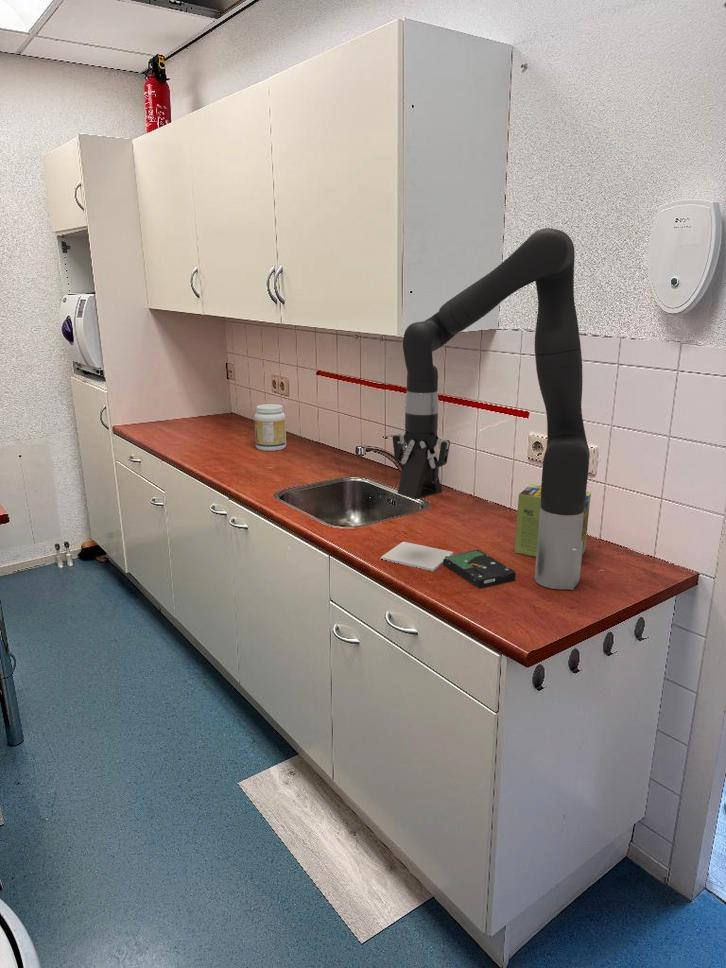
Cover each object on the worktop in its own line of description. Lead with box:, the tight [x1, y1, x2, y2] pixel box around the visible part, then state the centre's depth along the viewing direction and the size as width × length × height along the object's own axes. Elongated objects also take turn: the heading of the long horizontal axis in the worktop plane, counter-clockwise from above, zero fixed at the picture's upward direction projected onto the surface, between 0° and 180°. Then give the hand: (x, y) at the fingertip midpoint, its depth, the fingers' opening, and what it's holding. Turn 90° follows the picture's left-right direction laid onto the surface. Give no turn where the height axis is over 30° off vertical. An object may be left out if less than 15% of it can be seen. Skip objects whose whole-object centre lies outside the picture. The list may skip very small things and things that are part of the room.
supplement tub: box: [254, 403, 287, 452], centre depth 274 cm, size 12×12×17 cm
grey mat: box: [380, 541, 455, 572], centre depth 168 cm, size 14×12×1 cm
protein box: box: [513, 483, 592, 558], centre depth 170 cm, size 10×15×16 cm
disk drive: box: [442, 549, 517, 589], centre depth 160 cm, size 10×3×15 cm
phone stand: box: [397, 446, 443, 500], centre depth 162 cm, size 9×6×12 cm, turn 129°
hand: (419, 480), depth 163 cm, fingers closed on phone stand, 6 cm apart
